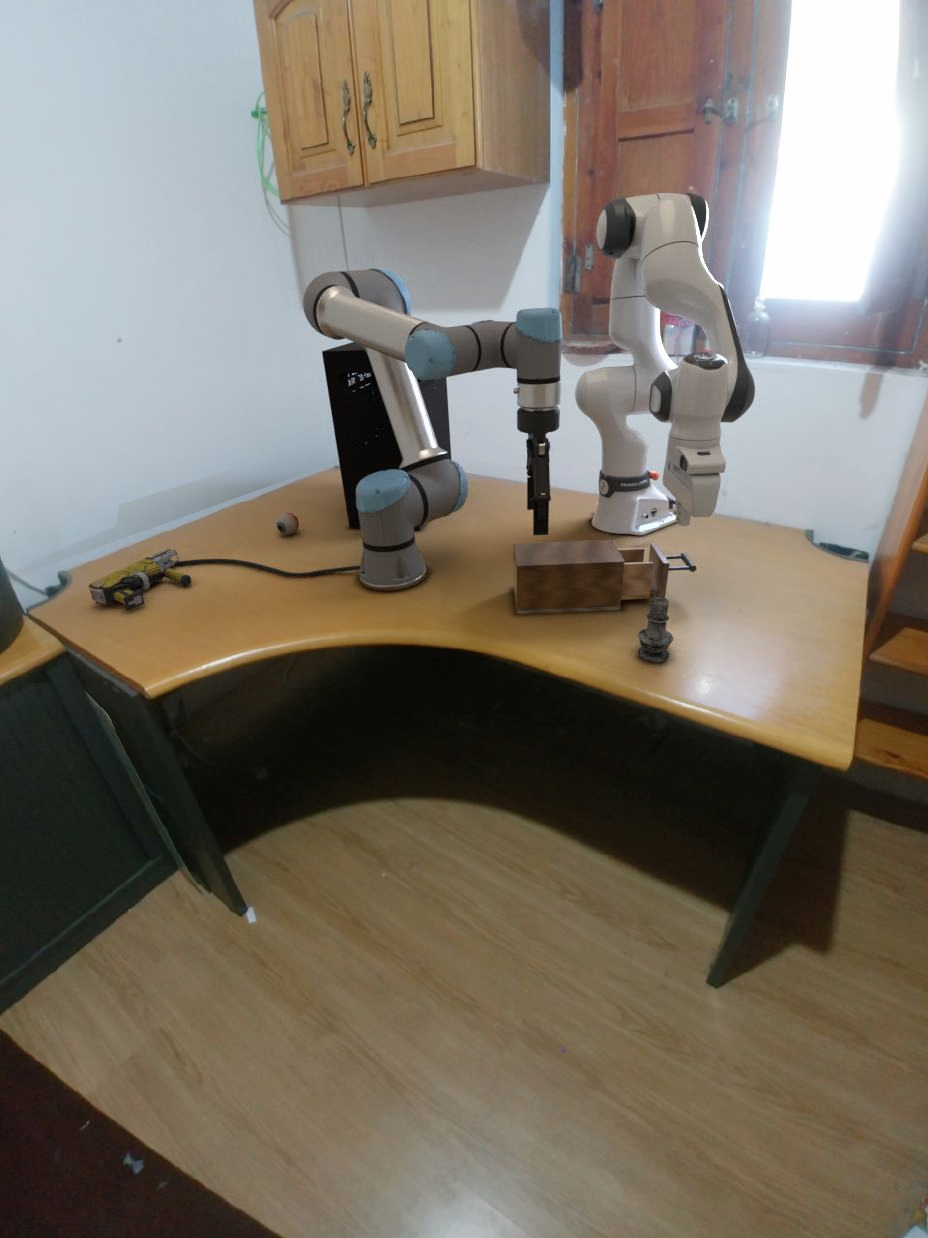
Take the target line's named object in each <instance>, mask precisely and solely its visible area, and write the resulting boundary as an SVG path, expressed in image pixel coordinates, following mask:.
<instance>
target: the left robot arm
mask: <svg viewBox="0 0 928 1238" xmlns="http://www.w3.org/2000/svg"><path fill="white" fill-rule="evenodd" d="M302 306H303V307H302V308H303V312H304V317H305V318H306V321H307V322H308V324H309V325H310V326H311V327H312V328H313V329H314V330H315V331H316V332H318V334H320V335H321V336H324V337H327V338H329V339H332V340H336V341H340V340H344V339H345V340H348V341H351V342H356V343H357V346H358V347H360V348H361V349H363V350H365V351H366V352H367V354H368V357H369V360H370V363H371V366H372V369H373V372H374V375H375V378H376V381H377V384H378V387H379V390H380V393H381V396H382V399H383V402H384V405H385V408H386V411H387V413H388V416H389V419H390V422H391V425H392V428H393V431H394V434H395V437H396V440H397V443H398V446H399V449H400V452H401V455H402V462H401V464H400V466H399V470H397V469H391V470H387V471H379V472H376V473H373V474H370V475H368V476H366V477H365V478H363V479H362V480H361V481H360V482H359V483H358V485H357V488H356V506H357V509H358V514H359V521H360V528H359V529H360V534H361V540H362V553H361V559H360V564H359V565H351V566H343V567H342V566H341V567H333V568H327V569H319V570H313V571H305V572H291V571H285V570H281V569H278V568H276V567H275V568H274V567H271V566H267V565H263V564H260V563H256V562H251V561H247V560H241V559H233V558H231V559H230V558H201V559H200V558H198V559H188V560H179V561H177V560H176V561H177V562H175V565H174V566H185V565H194V564H210V563H212V564H213V563H219V564H220V563H221V564H223V563H224V564H235V565H243V566H246V567H247V566H248V567H252V568H256V569H259V570H264V571H268V572H271V573H275V574H279V575H281V576H285V577H291V578H304V577H312V576H318V575H319V576H320V575H324V574H333V573H341V572H349V571H351V572H352V571H358V575H359V582H360V584H361V585H362V586H363V587H365V588H367V589H370V590H372V591H378V592H396V591H402V590H406V589H409V588H412V587H415V586H417V585H418V584H420V583H421V582H422V581H424V579H425V578H426V577H427V566H426V563H425V561H424V558H423V557H422V554H421V552H420V550H419V547H418V545H417V544H416V535H415V530H414V527H416V526H418V525H421V524H424V523H425V524H427V523H429V522H432V521H435V520H438V519H440V518H445V517H448V516H450V515H451V514H453V513H456V512H458V511H459V510H460V509H462V508H463V506H464V505H465V503H466V500H467V498H468V493H469V483H468V477H467V474H466V472H465V469H464V467H462V466H460V463H458V462H457V461H454V460H452V461H450V459H449V456H448V453H447V451H445V450H443V449H441V448H440V447H439V446H438V444H437V441H436V438H435V434H434V431H433V428H432V425H431V422H430V419H429V416H428V413H427V410H426V407H425V403H424V400H423V397H422V394H421V391H420V388H419V385H418V382H417V379H416V378H418V379H420V380H431V379H432V380H439V379H442V378H445V377H446V378H449V377H450V378H451V377H455V376H459V375H463V374H469V373H475V372H480V371H485V370H490V369H491V370H492V369H512V370H516V386H517V387H515V388H513V394H515V395H516V404H517V406H518V407H519V408H517V410H516V429H517V430H518V431H519V432H521V433H524V434H527V438H526V440H525V445H526V466H525V469H526V475H527V477H526V510H527V511H529V510H530V511H531V510H532V519H533V520H532V535H533V536H549V521H550V519H549V517H550V502H551V501H552V500H551V499H552V496H551V478H550V474H551V473H550V449H551V442H550V441H549V438H548V437H547V434H548V433H553V432H556V431H557V430H559V428H560V418H561V416H560V414H561V409H560V408H559V407H558V406H559V405H560V404H561V397H562V396H561V393H562V392H561V391H562V380H561V366H562V365H561V363H562V349H563V338H564V335H563V323H562V321H563V320H562V319H563V318H562V313H561V310H559V309H558V308H555V307H532V308H522V309H520V310H519V311H517V313H516V320H515V321H505V320H503V321H501V320H499V321H498V320H493V319H486V320H478V321H474V322H472V323H471V324H464V325H455V326H441V325H439V324H435V323H432V322H429V321H427V320H424V319H422V318H418V317H416V316H412V315H411V313H412V312H411V310H410V309H411V307H412V304H411V298H410V294H409V290H408V289H407V287H406V285H405V282H404V281H403V280H402V279H401V277H400V276H399V275H397V274H396V273H395V272H392V271H391V270H389V269H379V268H368V269H357V270H340V271H337V270H335V271H333V270H332V271H326V272H323V273H321V274H318V275H317V276H315V277H314V278H313V279H312V280H311V281H310V282H309V283H308V285H307V287H306V288H305V291H304V294H303V299H302ZM425 524H424V525H425Z"/></svg>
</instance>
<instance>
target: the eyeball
mask: <svg viewBox="0 0 928 1238" xmlns="http://www.w3.org/2000/svg"><path fill="white" fill-rule="evenodd" d="M299 525H300V522H299V519H298V517H297V516H296V515H295V514H294V513H292V512H287V511H286V512H282V513H280V514H279V515H278V516H277V517H276V520H275V527H276V529H277V530H278V531H279V532H280V533H281V534H282V535H285V536H286V535H287V536H289V535H293V534H295V533H296V532H297V531H298V529H299Z"/></svg>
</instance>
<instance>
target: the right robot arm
mask: <svg viewBox="0 0 928 1238" xmlns="http://www.w3.org/2000/svg"><path fill="white" fill-rule="evenodd" d="M708 225H709V206H708V203H707V201H706V199H705V197H703V196H702V195H701V194H697V193H692V192H685V193H684V194H683V193H675V192H654V193H651V194H641V195H635V196H630V197H625V196H621V197H620V196H619V197H616V198H613V199H611V200H608V201H606V203H605V204H604V205H603V207H602V208H601V210H600V213H599V218H598V220H597V224H596V230H595V231H596V232H595V234H596V241H597V247H598V249H599V251H600V253H601V254H602V256H604V257H606V258H609V259H614V260H615V261H614V266H613V270H612V276H611V277H612V278H611V282H610V283H611V284H610V294H609V295H610V296H609V300H610V301H609V314H608V315H609V317H608V318H609V319H608V336H609V339H610V341H611V342H612V343H613V344H614V345H615V346H617V347H619V348H620V349H622V350H624V351H626V352H628V353H630V355H631V357H632V360H633V361H632V362H633V364H631V365H621V366H620V365H619V366H603V367H598V368H595V369H590V370H588V371H584V373H582V374H581V376H580V377H579V378H578V379H577V383H576V385H575V390H574V399H575V403H576V405H577V407H578V409H579V410H580V412H582V414H583V415H585V416H586V417H588V418H589V419H590V420H591V421H592V422H593V424H594V426H595V427H596V429H597V431H598V434H599V436H600V437H599V438H600V443H601V468H600V470H599V474H598V492H599V493H598V498H597V502H596V507H595V511H594V514H593V517H592V520H591V525H592V526H593V527H594V528H595V529H597V530H599V531H601V532H605V533H611V534H623V535H625V534H626V535H632V536H633V535H634V536H645V535H646V534H650V533H652V532H654V531H657V530H660V529H662V528H665V527H668V526H670V525H672V524H675V523H678V524H679V525H680V526H681V527H687V526H689V525H690V523H691V518H710V517H712V515H713V514H714V513H715V510H716V507H717V502H718V498H719V494H720V489H721V481H722V479H721V477H722V476H721V474H723V473H725V472H726V467H727V461H726V458H725V456H724V454H723V451H722V445H721V437H722V428H721V423H734V422H736V421H737V420H738V419H740V418H741V417H742V416H744V415H745V414H746V412H747V411H748V410H749V409H750V408H751V406H752V405H753V403H754V400H755V396H756V385H755V380H754V377H753V374H752V373H751V370H750V368H749V366H748V364H747V361H746V359H745V356H744V353H743V348H742V345H741V344H742V343H741V340H740V337H739V332H738V329H737V326H736V325H737V324H736V321H735V318H734V315H733V310H732V307H731V303H730V300H729V297H728V295H727V292H726V289H725V287H724V285H723V284H722V283H720V282H718V281H717V280H716V279H714V277H713V275H712V274H711V273H710V271H709V270H708V267H707V266H706V264H705V260H704V258H703V251H702V242H703V241H704V239H705V236H706V233H707V230H708ZM661 312H662V313H665V314H668V315H671V316H676V317H679V318H681V319H685V320H687V321H689V322H691V323H693V324H696V325H697V326H699V327H700V328H701V329H702V331H703V332H704V333H705V336H706V339H707V343H708V347H709V350H710V352H707V351H705V352H703V351H702V352H701V351H699V352H692V353H690V354H686V355H685V356H683V357H682V358H681V359H680V361H679V363H678V365H677V364H676V363H675V362H674V361H672V360H671V358H670V357H669V354H667V352H666V350H665V348H664V345H663V342H662V337H661ZM634 415H652V416H653V417H654V418H655V419H656V420H657V421H659V422H660V423H665V424H670V425H671V426H670V429H669V432H668V438H667V447H666V455H665V460H664V461H665V462H664V466H663V474H662V485H663V487H665V488H666V490H667V491H668V492H669V493H670V494H671V495H672V496H673V497H674V499H675V500H674V499H673V498H671V497H669V496H667V495H665V494H664V493H663V492H661V491H660V490H659V489H658V488H656V487H655V486H654V485H652V483H651V480H653V481H658V479H659V478H660V473H659V472H657V471H654V470H651V471H649V470H648V469H647V466H648V458H649V457H648V456H649V446H650V443H649V440H648V438H647V437H646V435H645V434H644V433H643V432H641V431H639V430H638V429H636V428H634V427H631V426H629V425H627V417H628V416H634ZM674 506H675V511H676V513H674V512H672V511H670V510H673V508H674Z"/></svg>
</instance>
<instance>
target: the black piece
mask: <svg viewBox="0 0 928 1238" xmlns="http://www.w3.org/2000/svg"><path fill="white" fill-rule="evenodd" d="M321 355H322V361H323V367H324V375H325V380H326V386H327V393H328V399H329V405H330V412H331V419H332V425H333V431H334V437H335V445H336V451H337V457H338V464H339V470H340V477H341V483H342V490H343V496H344V502H345V509H346V514H347V522H348V528H349V529H361V528H360V521H359V514H358V509H357V506H356V488H357V485H358V483H359V482H360V481H361V480H362V479H363V478H365V477H366V476H368V475H370V474H373V473H376V472H379V471H387V470H391V469H397V470H399V466H400V464H401V462H402V455H401V452H400V449H399V446H398V443H397V440H396V437H395V434H394V431H393V428H392V425H391V422H390V419H389V416H388V413H387V411H386V408H385V405H384V402H383V399H382V396H381V393H380V390H379V387H378V384H377V381H376V378H375V375H374V372H373V369H372V366H371V363H370V360H369V357H368V354H367V352H366V351H365V350H363V349H361V348H360V347H358V346H357V343H356V342H353V341H351V342H349V343H345V344H342V345H338V346H335V347H332V348H328V349H324V350H322V351H321ZM416 379H417V382H418V385H419V388H420V391H421V394H422V397H423V400H424V403H425V407H426V410H427V413H428V416H429V419H430V422H431V425H432V428H433V431H434V434H435V438H436V441H437V444H438V446H439V447H440V448H441V449H443V450H445V451H447V453H448V456H449V459H450V461H453V460H452V447H451V446H452V445H451V429H450V414H449V413H450V411H449V396H448V381H447V377H445V378H442V379H439V380H432V379H431V380H420V379H418V378H416ZM425 524H426V523H424V524H421V525H418V526H416V527H414V531H416V532H417V531H418V532H419V531H421V529H422V528H423V527H424V526H425Z"/></svg>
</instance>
